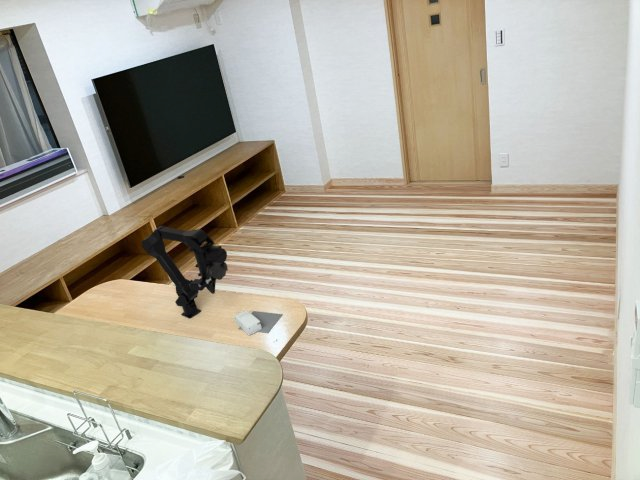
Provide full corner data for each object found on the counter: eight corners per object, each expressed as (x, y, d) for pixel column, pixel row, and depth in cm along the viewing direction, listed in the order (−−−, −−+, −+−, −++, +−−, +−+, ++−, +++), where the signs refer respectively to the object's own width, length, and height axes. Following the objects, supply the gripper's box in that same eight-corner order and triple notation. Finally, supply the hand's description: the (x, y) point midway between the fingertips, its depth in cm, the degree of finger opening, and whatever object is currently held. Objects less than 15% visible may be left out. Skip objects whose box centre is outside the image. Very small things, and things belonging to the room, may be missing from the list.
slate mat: (238, 329, 211) (238, 328, 211) (254, 311, 221) (254, 310, 221) (268, 333, 205) (267, 332, 205) (282, 314, 215) (282, 314, 215)
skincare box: (235, 323, 214) (248, 336, 205) (233, 314, 212) (246, 327, 203) (248, 317, 217) (262, 330, 208) (246, 308, 215) (260, 320, 206)
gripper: (206, 273, 199) (216, 307, 205) (232, 250, 213) (241, 283, 220) (183, 271, 203) (194, 305, 210) (210, 249, 218) (219, 281, 225)
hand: (213, 293), depth 216 cm, fingers closed
